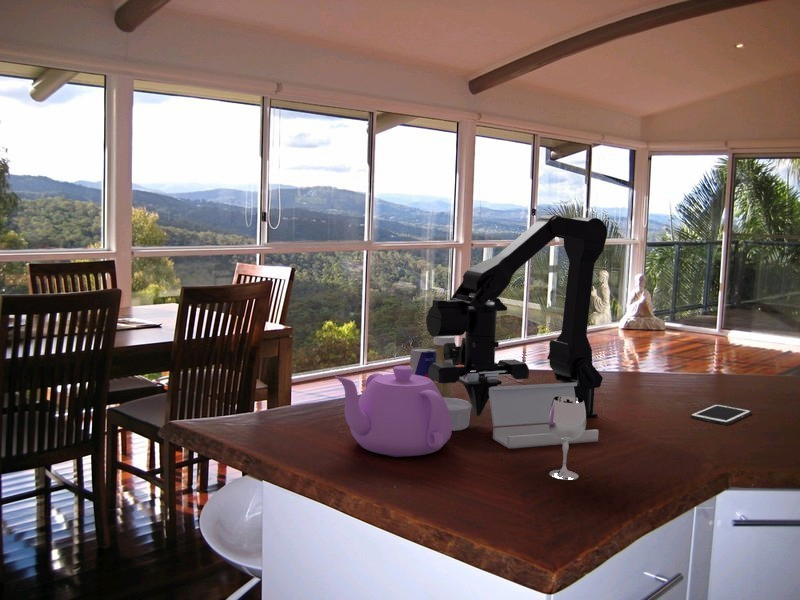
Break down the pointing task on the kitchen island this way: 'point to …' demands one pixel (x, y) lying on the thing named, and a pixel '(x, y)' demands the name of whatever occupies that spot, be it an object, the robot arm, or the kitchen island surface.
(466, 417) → the ramekin
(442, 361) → the sprinkles bottle
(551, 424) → the wineglass
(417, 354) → the energy drink
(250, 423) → the kitchen island surface
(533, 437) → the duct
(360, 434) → the teapot
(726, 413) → the cell phone
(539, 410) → the cover
